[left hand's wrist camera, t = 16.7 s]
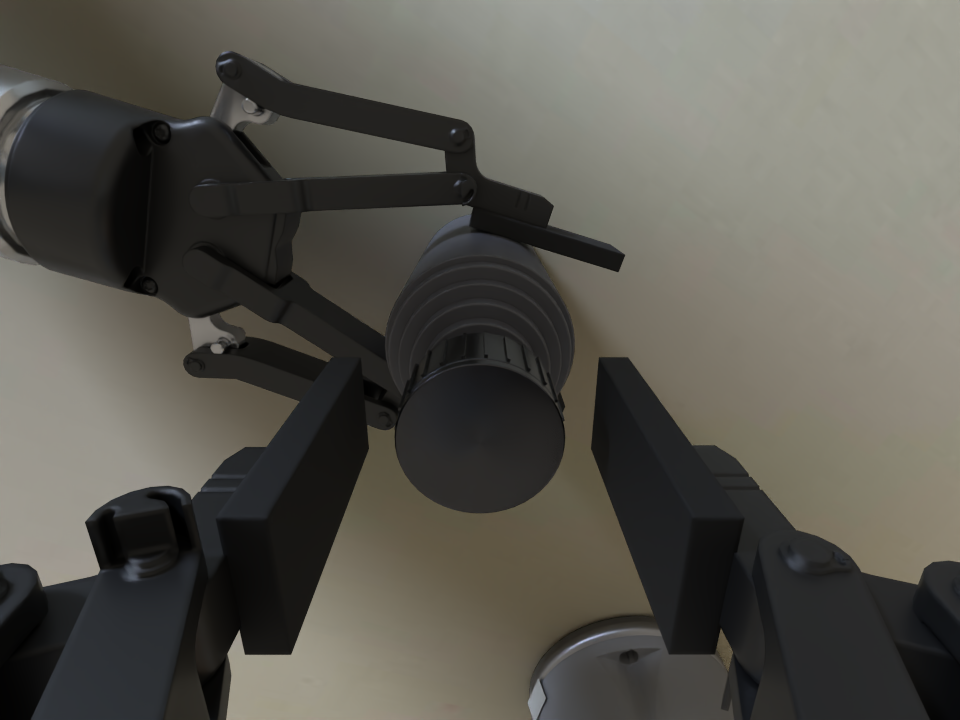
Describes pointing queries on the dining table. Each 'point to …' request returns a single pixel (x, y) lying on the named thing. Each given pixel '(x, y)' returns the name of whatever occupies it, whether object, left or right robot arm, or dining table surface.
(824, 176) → the dining table surface
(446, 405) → the cap
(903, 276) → the dining table surface
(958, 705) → the left robot arm
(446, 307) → the bottle
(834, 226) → the dining table surface
